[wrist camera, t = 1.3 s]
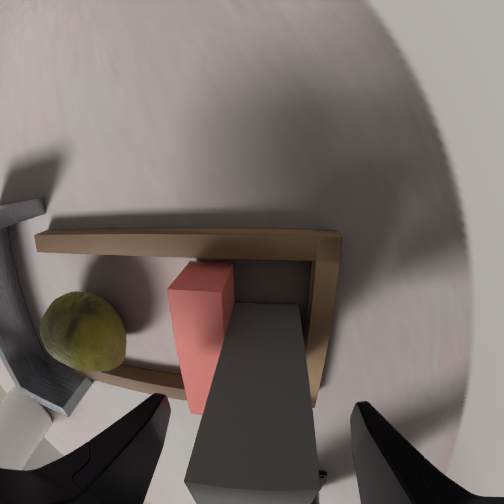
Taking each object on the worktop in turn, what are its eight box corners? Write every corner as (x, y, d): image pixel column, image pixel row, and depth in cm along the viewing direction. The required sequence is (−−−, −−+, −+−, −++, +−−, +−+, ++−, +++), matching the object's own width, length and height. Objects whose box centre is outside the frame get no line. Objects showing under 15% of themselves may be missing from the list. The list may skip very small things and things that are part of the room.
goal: (92, 383, 17) (68, 417, 13) (43, 365, 17) (19, 391, 13) (43, 197, 12) (-6, 210, 8) (-2, 205, 13) (-42, 218, 9)
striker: (290, 380, 14) (293, 529, 6) (202, 375, 14) (158, 513, 6) (301, 264, 12) (340, 449, 3) (190, 261, 12) (74, 411, 4)
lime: (149, 340, 14) (111, 399, 10) (92, 343, 15) (52, 389, 10) (119, 270, 13) (62, 315, 8) (64, 283, 14) (11, 320, 9)
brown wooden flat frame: (312, 393, 15) (314, 407, 14) (84, 364, 16) (76, 373, 15) (335, 230, 12) (341, 237, 11) (47, 230, 13) (34, 235, 12)
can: (14, 375, 19) (-40, 436, 8) (54, 413, 20) (6, 482, 8) (16, 397, 21) (-26, 450, 9) (53, 429, 22) (14, 488, 10)
